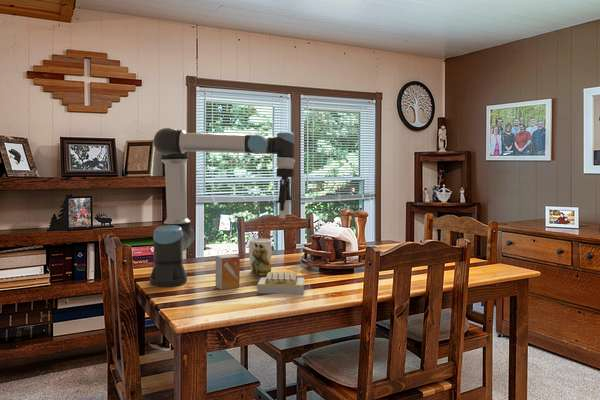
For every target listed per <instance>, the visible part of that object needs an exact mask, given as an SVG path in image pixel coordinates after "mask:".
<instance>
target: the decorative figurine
mask: <svg viewBox="0 0 600 400" xmlns="http://www.w3.org/2000/svg"><path fill="white" fill-rule="evenodd" d="M255 247H256V248H254V251H253V253H252V255H253V256H254V258H256V260H254V261H253V262H252V267H253V269H252V267H251V269H252V270H253V271H252V272H251V274H253V277H254V278H257V279H259V280H260V278H261V277H267V275H268V272H272V266H271V261H270V262H269V260H268V259H267V250H266V249H265V247H264V245H263V244H260V245H258V244H257V243H255Z"/></svg>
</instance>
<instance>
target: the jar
mask: <svg viewBox="0 0 600 400" xmlns="http://www.w3.org/2000/svg"><path fill="white" fill-rule="evenodd" d="M248 242H249V247H248V257H249V264H250V267H251V269H250V272H251V273H252V271H253V270H252V269H253V267H252V262H253V261H254V260H256V258H254V256H253V255H252V253H253V251H254V248H256V247H255V243H257V244H258V245H260V244H263V245H264V247H265V249H266V250H267V259H268V260H269V262H270V263H271V262H272V259H271V258H272V255H273V252H272V242H273V241H272V239H270V238H263V237H262V238H258V237H257V238H250V239H249V240H248Z"/></svg>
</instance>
